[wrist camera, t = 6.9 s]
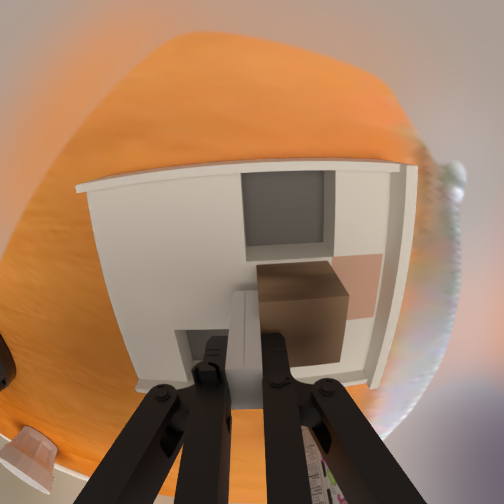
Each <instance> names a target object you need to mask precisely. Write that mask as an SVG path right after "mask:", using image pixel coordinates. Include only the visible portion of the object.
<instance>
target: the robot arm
mask: <svg viewBox="0 0 504 504" xmlns="http://www.w3.org/2000/svg"><path fill="white" fill-rule="evenodd" d="M191 372H192V376H193V379H194V383H195V384H193V385H191V386H189V387H186V388H182V389H177V390H176V389H175V388H174V386H172V385H169V384H159V385H156V386H154V387H152V388H151V389H150V390H149V392H148V393H147V395H146V396H145V397H144V399H143V400H142V402H141V403H140V405H139V406H138V408H137V409H136V411H135V412H134V414H133V415H132V417H131V418H130V420H129V421H128V423H127V424H126V425H125V427H124V428H123V430H122V431H121V433H120V434H119V436H118V437H117V439H116V440H115V442H114V443H113V445H112V446H111V448H110V449H109V451H108V452H107V454H106V455H105V457H104V458H103V460H102V461H101V463H100V464H99V465H98V467H97V468H96V470H95V471H94V473H93V474H92V476H91V477H90V479H89V480H88V482H87V483H86V485H85V487H84V488H83V489H82V491H81V493H80V494H79V495H78V497H77V498H76V500H75V501H74V503H73V504H153V502H154V500H155V498H156V497H157V495H158V493H159V491H160V489H161V487H162V485H163V483H164V481H165V479H166V477H167V475H168V473H169V471H170V469H171V467H172V465H173V463H174V461H175V459H176V457H177V455H178V453H179V451H180V449H181V447H182V445H183V450H182V455H181V461H180V467H179V473H178V479H177V486H176V492H175V499H174V504H228V496H229V472H230V449H231V428H232V416H231V407H232V409H263V414H264V436H265V459H266V483H267V504H313V503H312V496H311V489H310V482H309V475H308V468H307V461H306V454H305V448H304V441H303V435H302V428H301V426H305V427H308V430H309V432H310V434H311V436H312V437H313V439H314V441H315V443H316V445H317V447H318V449H319V451H320V453H321V455H322V457H323V459H324V460H325V462H326V464H327V466H328V468H329V470H330V472H331V474H332V475H333V477H334V479H335V481H336V483H337V485H338V487H339V488H340V490H341V492H342V494H343V496H344V498H345V499H346V501H347V503H348V504H427V503H426V502H425V501H424V499H423V498H422V496H421V495H420V494H419V492H418V491H417V489H416V488H415V487H414V485H413V484H412V482H411V481H410V479H409V478H408V477H407V475H406V474H405V472H404V471H403V470H402V468H401V467H400V465H399V464H398V463H397V461H396V460H395V458H394V457H393V455H392V454H391V453H390V451H389V450H388V448H387V447H386V446H385V444H384V443H383V441H382V440H381V439H380V437H379V436H378V434H377V433H376V432H375V430H374V429H373V427H372V426H371V424H370V423H369V422H368V420H367V419H366V417H365V416H364V415H363V413H362V412H361V410H360V409H359V408H358V406H357V405H356V403H355V402H354V400H353V399H352V398H351V396H350V395H349V393H348V392H347V391H346V389H345V388H344V386H343V385H342V384H341V383H340V382H339V381H338V380H335V379H333V378H322V379H320V380H317V381H316V382H315V383H314V384H307V383H302V382H300V381H297V380H296V379H295V378H294V377H293V376H292V375H291V372H290V366H289V360H288V353H287V348H286V342H285V338H284V337H283V336H282V334H281V333H264V334H260V319H259V304H258V290H250V291H233V296H232V305H231V315H230V325H229V335H228V336H211V337H210V339H209V340H208V341H207V342H206V347H205V353H204V358H203V361H201V362H199V363H197V364H196V365H194V366H193V368H192V370H191ZM15 373H16V372H15V366H14V362H13V359H12V357H11V355H10V352H9V350H8V348H7V346H6V345H5V343H4V341H3V339H2V338H1V336H0V391H1V390H3V389H5V388H6V387H7V386H8V385H9V384H10V383H11V381H12V380H13V379H14V377H15ZM183 443H184V444H183Z"/></svg>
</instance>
